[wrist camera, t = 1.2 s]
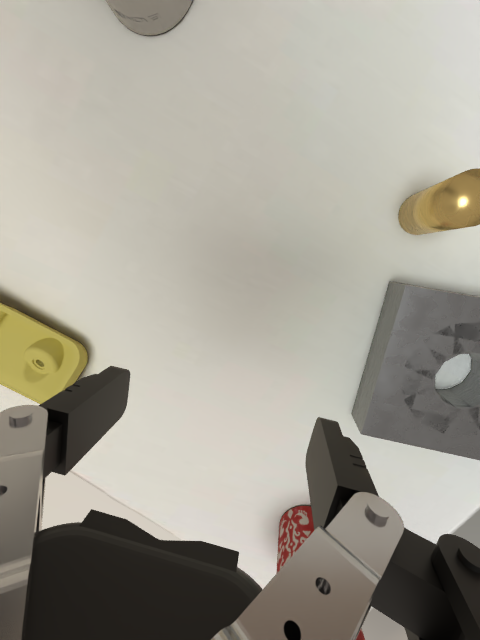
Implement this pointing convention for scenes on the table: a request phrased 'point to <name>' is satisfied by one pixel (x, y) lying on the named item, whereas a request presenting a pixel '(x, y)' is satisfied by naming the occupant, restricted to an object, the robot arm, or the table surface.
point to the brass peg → (443, 205)
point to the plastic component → (36, 356)
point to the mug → (296, 536)
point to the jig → (422, 372)
